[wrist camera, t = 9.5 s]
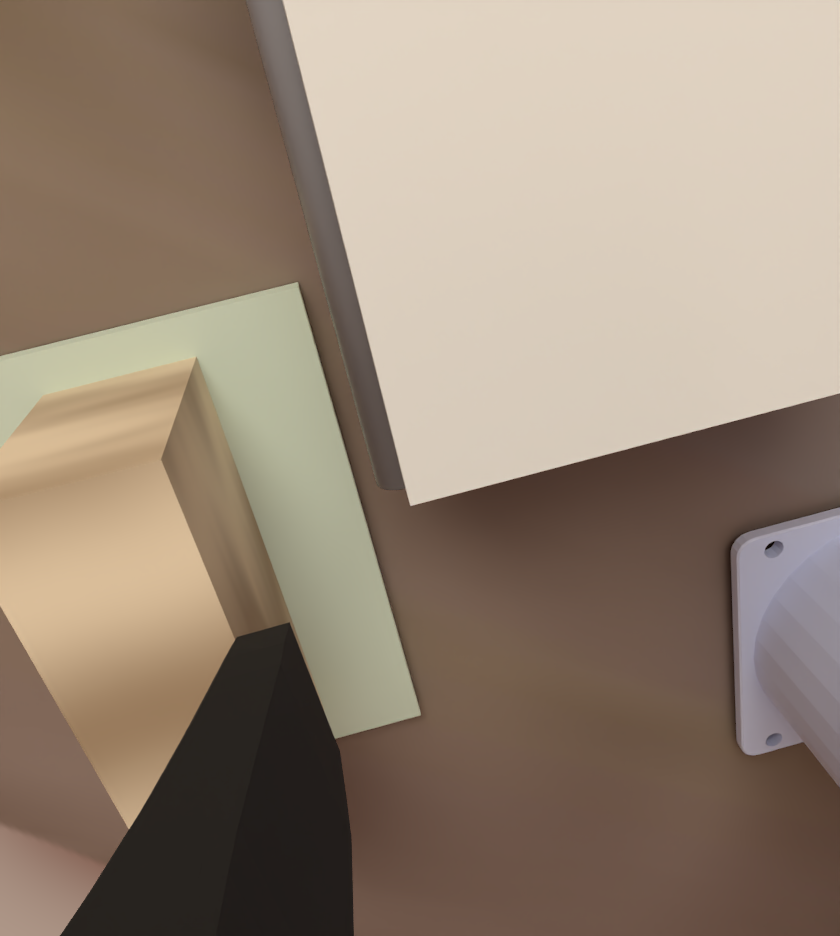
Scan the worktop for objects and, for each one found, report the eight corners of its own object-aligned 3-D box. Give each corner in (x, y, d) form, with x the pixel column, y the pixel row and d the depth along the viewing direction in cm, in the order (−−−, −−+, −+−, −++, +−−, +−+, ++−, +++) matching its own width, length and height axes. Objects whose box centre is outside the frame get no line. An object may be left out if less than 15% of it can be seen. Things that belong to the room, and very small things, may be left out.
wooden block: (324, 709, 21) (334, 879, 16) (205, 741, 20) (182, 921, 16) (196, 356, 16) (160, 459, 12) (43, 395, 16) (-53, 514, 11)
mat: (297, 282, 16) (298, 286, 16) (418, 704, 22) (420, 715, 21) (-87, 377, 16) (-96, 385, 15) (134, 782, 21) (132, 794, 21)
